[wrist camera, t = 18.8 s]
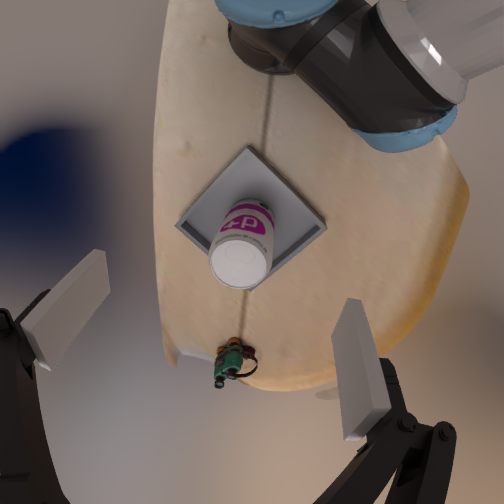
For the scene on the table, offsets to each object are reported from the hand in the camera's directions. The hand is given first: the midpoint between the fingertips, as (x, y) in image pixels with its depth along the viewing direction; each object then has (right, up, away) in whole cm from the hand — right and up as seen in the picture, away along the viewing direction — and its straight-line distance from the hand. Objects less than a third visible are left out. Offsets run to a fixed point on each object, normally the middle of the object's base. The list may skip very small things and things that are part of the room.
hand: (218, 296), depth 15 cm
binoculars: (-1, -21, +51) cm, 55 cm away
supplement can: (+2, +8, +34) cm, 35 cm away
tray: (+2, +8, +35) cm, 36 cm away
